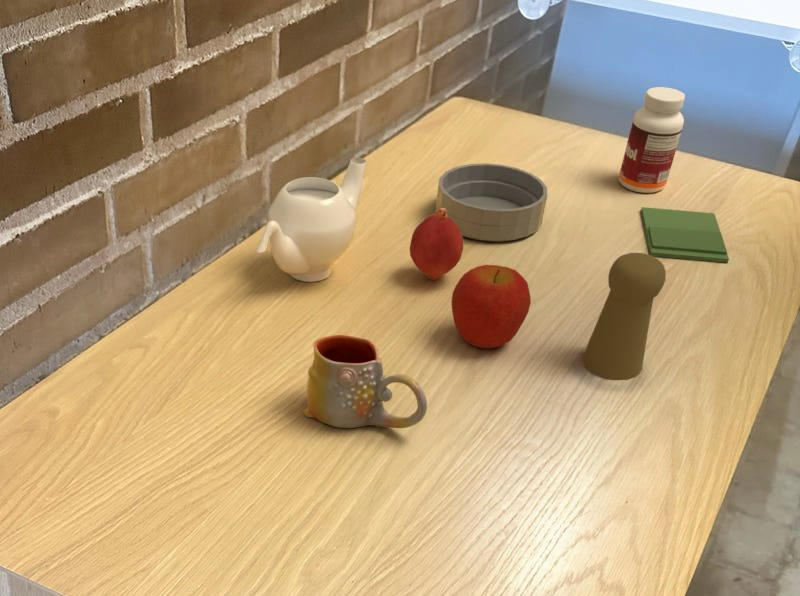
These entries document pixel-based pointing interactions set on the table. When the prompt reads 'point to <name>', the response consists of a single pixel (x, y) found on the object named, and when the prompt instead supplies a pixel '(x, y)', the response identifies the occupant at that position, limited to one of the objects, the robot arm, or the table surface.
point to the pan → (492, 201)
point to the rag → (683, 235)
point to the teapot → (313, 223)
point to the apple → (490, 305)
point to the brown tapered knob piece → (625, 317)
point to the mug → (354, 385)
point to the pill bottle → (653, 141)
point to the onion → (436, 245)
